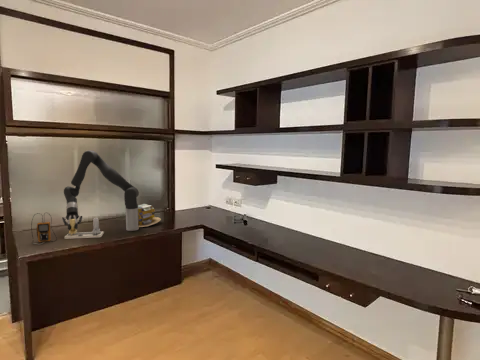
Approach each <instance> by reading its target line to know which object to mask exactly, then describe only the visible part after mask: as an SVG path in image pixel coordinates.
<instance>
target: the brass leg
mask: <svg viewBox="0 0 480 360" xmlns="http://www.w3.org/2000/svg"><path fill="white" fill-rule="evenodd" d="M68 233H69V234H71V236H72V234H75V233H78V229H76V227H75V219H70V230H68Z"/></svg>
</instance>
